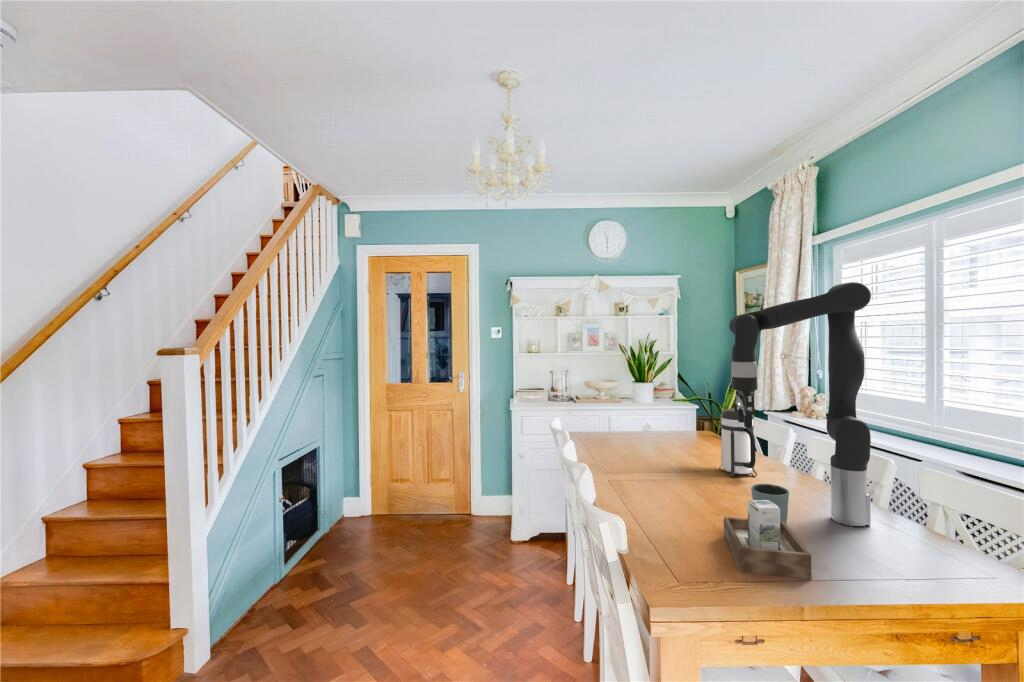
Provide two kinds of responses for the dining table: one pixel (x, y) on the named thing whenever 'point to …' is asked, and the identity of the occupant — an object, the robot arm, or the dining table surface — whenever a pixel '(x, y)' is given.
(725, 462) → the coffee press
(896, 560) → the dining table surface
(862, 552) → the dining table surface
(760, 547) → the syrup box
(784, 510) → the blue-grey cup
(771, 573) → the brown wooden shallow tray
